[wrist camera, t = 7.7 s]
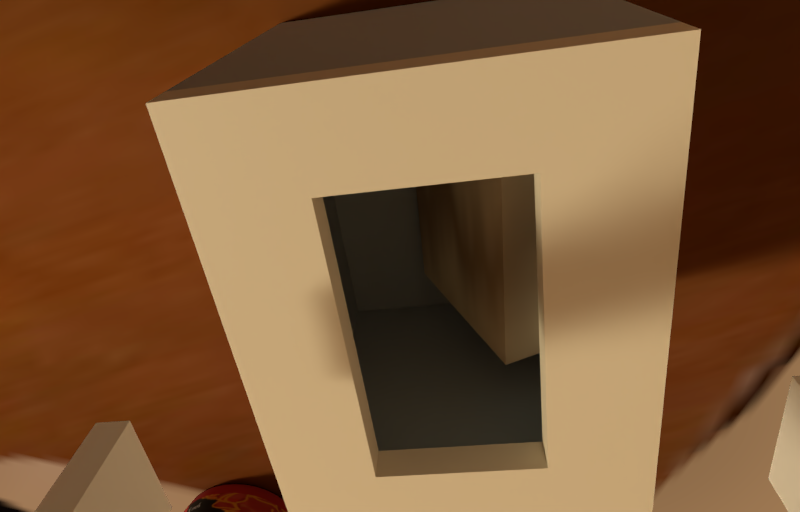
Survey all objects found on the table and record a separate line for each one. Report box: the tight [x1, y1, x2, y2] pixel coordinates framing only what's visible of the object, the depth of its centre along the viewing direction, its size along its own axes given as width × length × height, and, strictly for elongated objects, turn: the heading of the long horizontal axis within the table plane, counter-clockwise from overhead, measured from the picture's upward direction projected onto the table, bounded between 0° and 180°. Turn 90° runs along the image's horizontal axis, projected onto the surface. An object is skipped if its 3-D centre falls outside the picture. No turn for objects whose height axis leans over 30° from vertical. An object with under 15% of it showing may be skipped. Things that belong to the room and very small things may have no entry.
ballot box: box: [146, 0, 701, 512], centre depth 20 cm, size 14×11×12 cm
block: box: [416, 174, 540, 365], centre depth 21 cm, size 7×3×7 cm
